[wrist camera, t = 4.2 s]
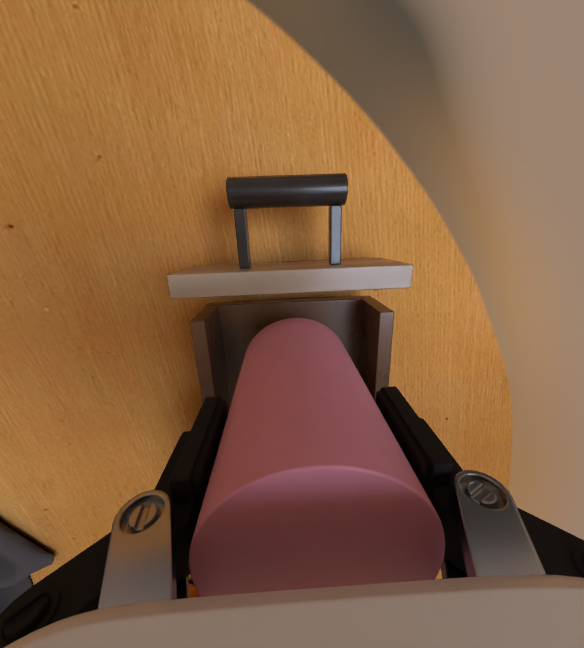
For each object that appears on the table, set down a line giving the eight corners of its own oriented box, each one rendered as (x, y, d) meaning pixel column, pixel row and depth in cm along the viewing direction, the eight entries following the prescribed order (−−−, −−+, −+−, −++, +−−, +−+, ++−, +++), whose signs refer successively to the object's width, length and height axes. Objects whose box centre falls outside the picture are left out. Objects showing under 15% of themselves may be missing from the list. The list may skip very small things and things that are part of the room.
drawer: (183, 189, 17) (147, 171, 12) (384, 182, 17) (423, 162, 12) (217, 424, 22) (201, 473, 17) (371, 415, 22) (394, 461, 18)
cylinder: (238, 320, 15) (165, 476, 5) (348, 314, 15) (466, 458, 5) (248, 413, 17) (206, 649, 7) (345, 407, 17) (429, 632, 7)
